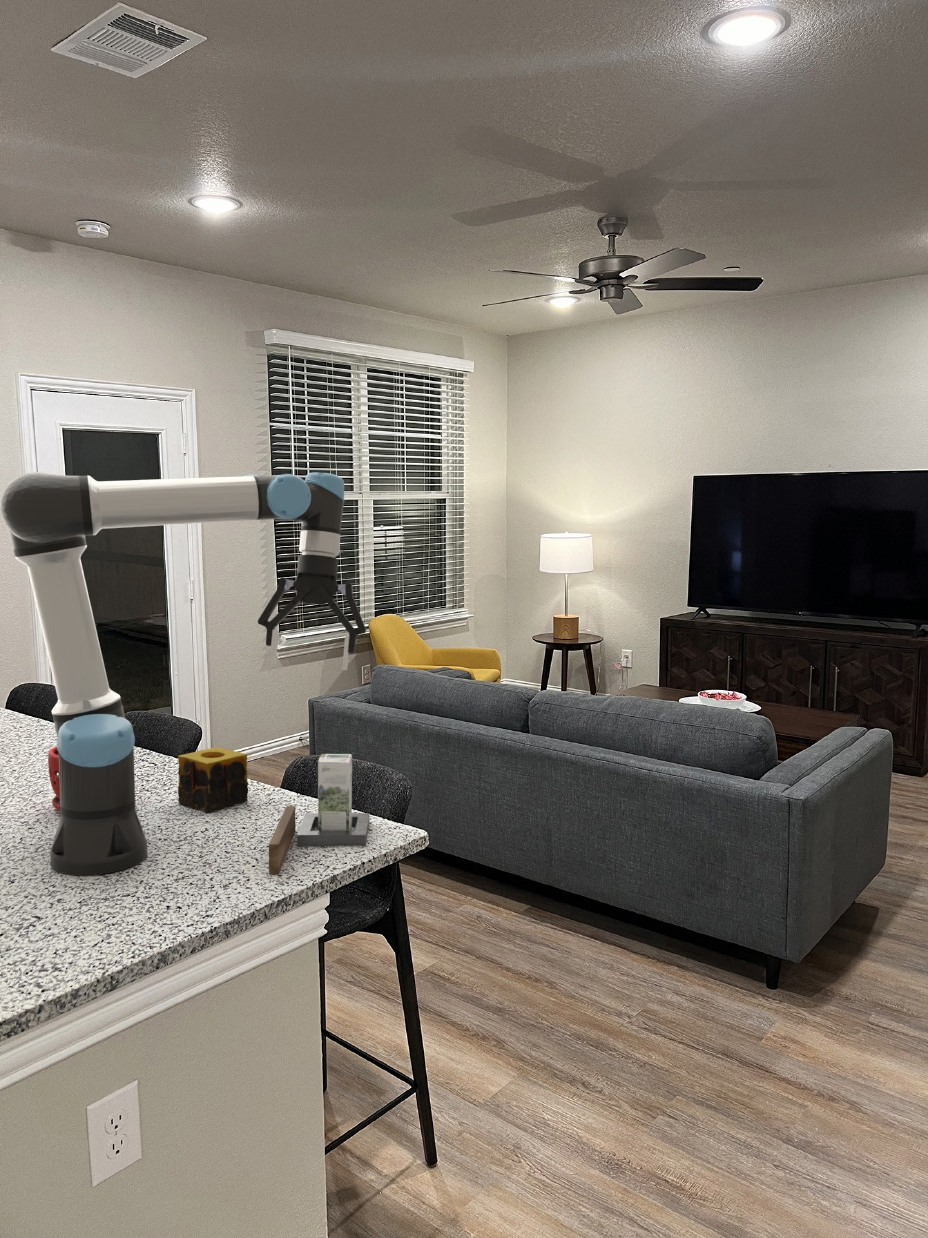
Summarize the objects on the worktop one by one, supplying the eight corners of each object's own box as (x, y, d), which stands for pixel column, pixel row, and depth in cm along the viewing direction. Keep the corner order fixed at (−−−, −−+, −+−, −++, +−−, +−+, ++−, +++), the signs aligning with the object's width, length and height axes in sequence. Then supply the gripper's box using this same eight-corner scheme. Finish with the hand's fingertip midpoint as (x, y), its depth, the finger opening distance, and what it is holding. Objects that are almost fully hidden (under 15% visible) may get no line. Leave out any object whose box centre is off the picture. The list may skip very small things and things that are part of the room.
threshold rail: (268, 874, 152) (268, 844, 151) (286, 832, 171) (286, 806, 171) (278, 874, 152) (278, 844, 151) (295, 832, 171) (295, 806, 171)
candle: (208, 814, 181) (207, 764, 180) (176, 804, 187) (175, 755, 186) (249, 802, 190) (249, 753, 188) (217, 793, 196) (216, 746, 194)
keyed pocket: (297, 846, 165) (296, 835, 164) (305, 823, 176) (305, 813, 176) (365, 845, 165) (365, 834, 165) (369, 823, 177) (369, 813, 177)
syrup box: (352, 829, 174) (352, 752, 172) (349, 840, 168) (349, 761, 166) (321, 829, 174) (321, 752, 172) (317, 840, 168) (317, 760, 166)
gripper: (385, 563, 183) (375, 672, 182) (256, 551, 182) (246, 661, 181) (383, 559, 175) (373, 673, 174) (249, 547, 174) (238, 661, 173)
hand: (308, 667), depth 178 cm, fingers open, 13 cm apart
